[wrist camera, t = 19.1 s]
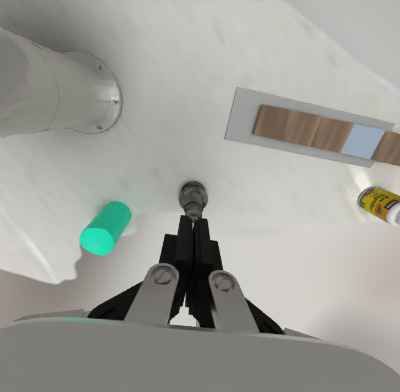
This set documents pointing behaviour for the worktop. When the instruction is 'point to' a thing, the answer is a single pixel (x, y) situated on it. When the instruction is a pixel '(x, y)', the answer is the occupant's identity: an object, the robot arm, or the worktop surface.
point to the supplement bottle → (381, 204)
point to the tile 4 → (388, 149)
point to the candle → (105, 229)
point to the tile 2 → (331, 134)
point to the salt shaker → (193, 200)
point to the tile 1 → (287, 125)
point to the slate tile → (362, 141)
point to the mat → (252, 102)
